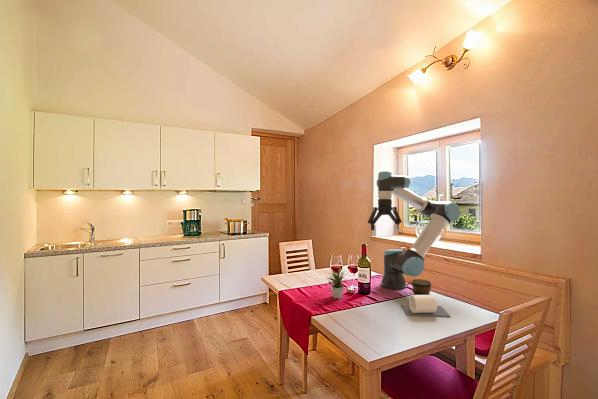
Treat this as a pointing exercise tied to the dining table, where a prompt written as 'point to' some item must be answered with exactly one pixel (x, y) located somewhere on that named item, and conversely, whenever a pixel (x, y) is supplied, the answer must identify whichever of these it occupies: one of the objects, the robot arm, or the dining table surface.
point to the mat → (438, 313)
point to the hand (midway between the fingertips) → (384, 235)
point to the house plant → (337, 284)
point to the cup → (422, 303)
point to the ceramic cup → (420, 287)
